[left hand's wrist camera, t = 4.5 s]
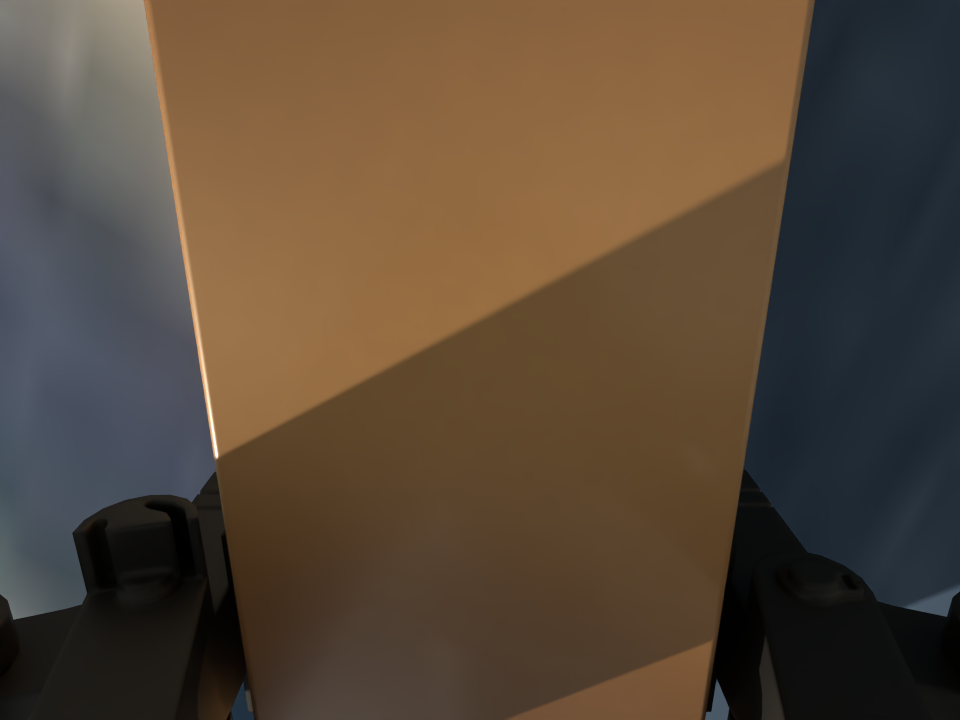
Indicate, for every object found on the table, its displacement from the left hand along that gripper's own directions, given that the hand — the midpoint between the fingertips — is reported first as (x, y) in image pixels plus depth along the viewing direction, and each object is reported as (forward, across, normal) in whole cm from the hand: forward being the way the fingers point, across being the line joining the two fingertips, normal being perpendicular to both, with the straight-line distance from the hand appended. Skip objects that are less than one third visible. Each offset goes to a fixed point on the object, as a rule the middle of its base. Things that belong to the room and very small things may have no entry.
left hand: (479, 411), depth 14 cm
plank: (+1, 0, -24) cm, 24 cm away
